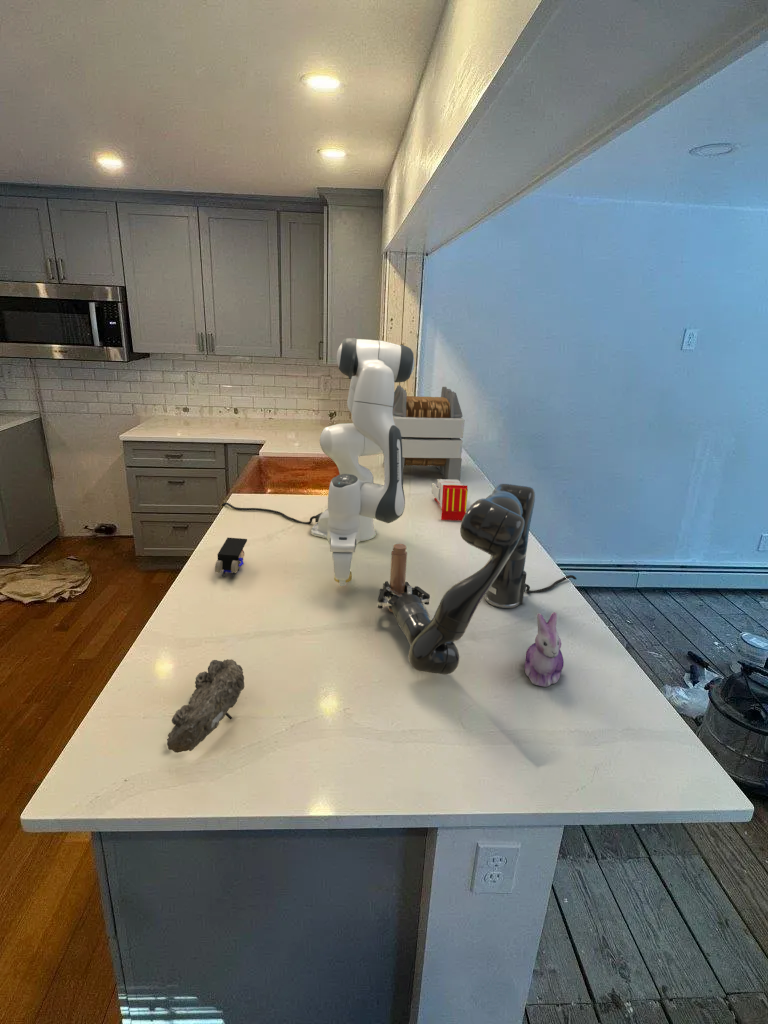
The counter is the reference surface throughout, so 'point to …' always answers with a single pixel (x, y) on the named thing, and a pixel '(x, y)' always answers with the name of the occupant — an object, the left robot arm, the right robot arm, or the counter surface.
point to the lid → (346, 580)
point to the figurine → (545, 653)
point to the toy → (451, 498)
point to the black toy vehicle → (230, 556)
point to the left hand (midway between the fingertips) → (342, 579)
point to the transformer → (430, 430)
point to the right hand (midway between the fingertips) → (394, 583)
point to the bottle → (398, 568)
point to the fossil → (206, 705)
